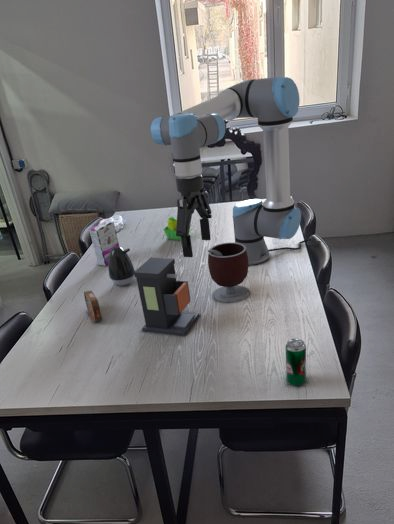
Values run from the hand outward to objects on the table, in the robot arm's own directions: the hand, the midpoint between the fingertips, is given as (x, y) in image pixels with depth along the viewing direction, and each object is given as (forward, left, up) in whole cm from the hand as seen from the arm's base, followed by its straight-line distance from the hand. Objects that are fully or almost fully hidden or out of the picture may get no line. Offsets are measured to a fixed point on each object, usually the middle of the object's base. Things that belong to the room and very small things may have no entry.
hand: (197, 248), depth 146 cm
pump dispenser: (+34, -36, -26) cm, 56 cm away
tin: (+40, -10, -26) cm, 49 cm away
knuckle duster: (+53, -108, -26) cm, 123 cm away
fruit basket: (+16, -81, -26) cm, 87 cm away
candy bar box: (+45, -61, -26) cm, 81 cm away
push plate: (+7, +1, -19) cm, 20 cm away
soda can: (-25, +36, -26) cm, 50 cm away
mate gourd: (-8, -17, -26) cm, 32 cm away
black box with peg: (+12, -1, -26) cm, 28 cm away
